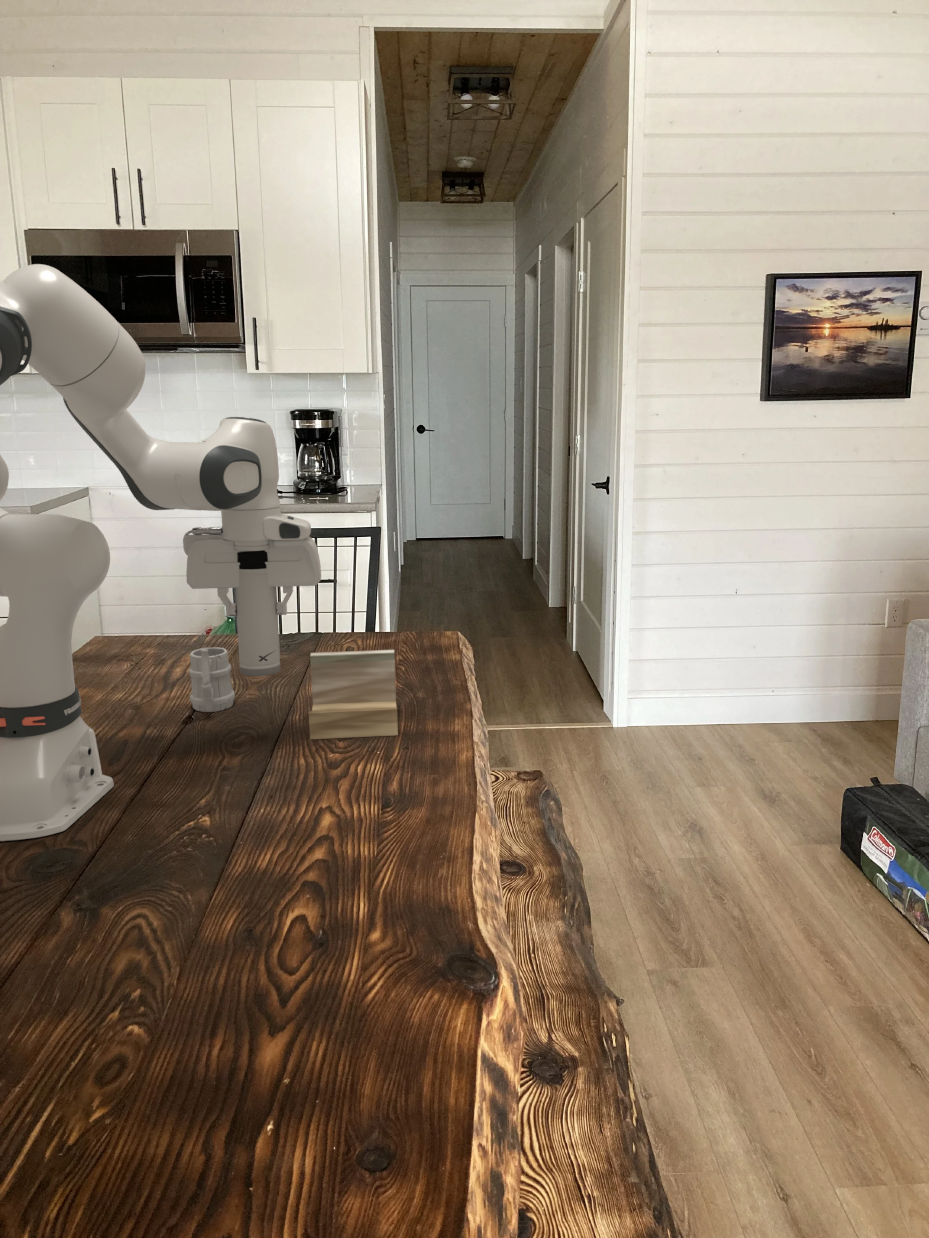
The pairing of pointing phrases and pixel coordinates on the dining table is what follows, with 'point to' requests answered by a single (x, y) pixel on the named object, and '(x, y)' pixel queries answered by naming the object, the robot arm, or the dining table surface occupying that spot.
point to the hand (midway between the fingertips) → (257, 615)
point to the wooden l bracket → (353, 694)
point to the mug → (210, 680)
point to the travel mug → (256, 617)
